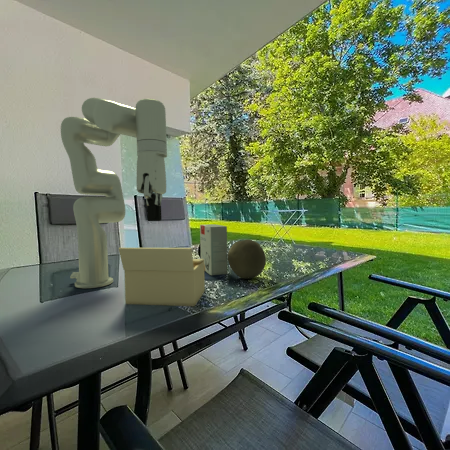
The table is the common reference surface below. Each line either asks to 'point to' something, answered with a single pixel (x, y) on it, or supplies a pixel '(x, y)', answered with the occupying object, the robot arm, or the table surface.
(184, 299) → the cardboard box
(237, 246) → the cantaloupe
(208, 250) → the hard drive box
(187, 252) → the front flap
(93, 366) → the table surface
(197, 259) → the back flap
